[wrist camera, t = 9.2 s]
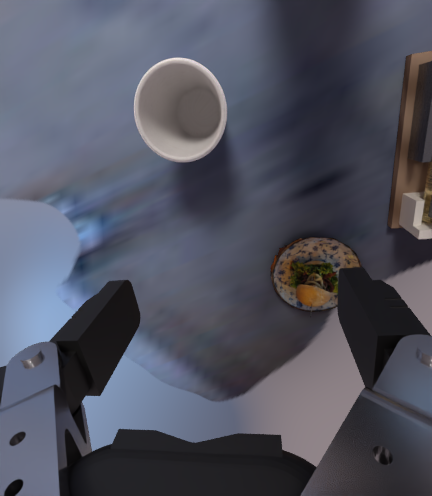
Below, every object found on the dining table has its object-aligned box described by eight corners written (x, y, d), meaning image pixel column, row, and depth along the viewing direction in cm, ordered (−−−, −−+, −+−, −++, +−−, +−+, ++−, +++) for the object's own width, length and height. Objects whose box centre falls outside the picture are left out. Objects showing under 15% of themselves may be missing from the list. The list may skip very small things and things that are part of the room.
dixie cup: (151, 114, 36) (115, 115, 26) (197, 54, 32) (173, 31, 23) (201, 164, 37) (183, 181, 28) (250, 112, 34) (247, 111, 25)
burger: (375, 274, 41) (398, 306, 34) (305, 318, 45) (314, 354, 38) (321, 213, 38) (335, 234, 31) (253, 266, 43) (252, 294, 36)
